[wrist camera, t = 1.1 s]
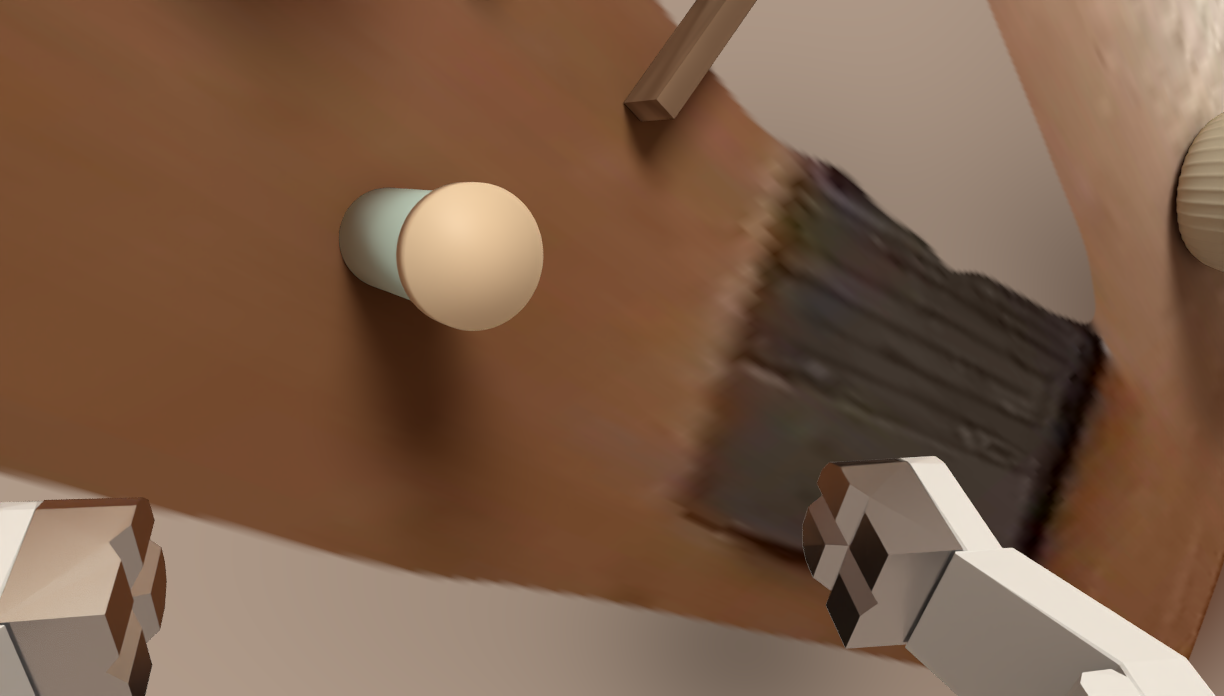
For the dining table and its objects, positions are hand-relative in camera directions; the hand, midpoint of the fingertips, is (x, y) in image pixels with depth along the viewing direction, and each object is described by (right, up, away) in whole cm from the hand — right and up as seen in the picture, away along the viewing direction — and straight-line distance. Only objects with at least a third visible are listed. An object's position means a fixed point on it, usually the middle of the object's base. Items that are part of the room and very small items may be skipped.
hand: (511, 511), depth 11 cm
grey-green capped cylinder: (-9, +7, +31) cm, 32 cm away
